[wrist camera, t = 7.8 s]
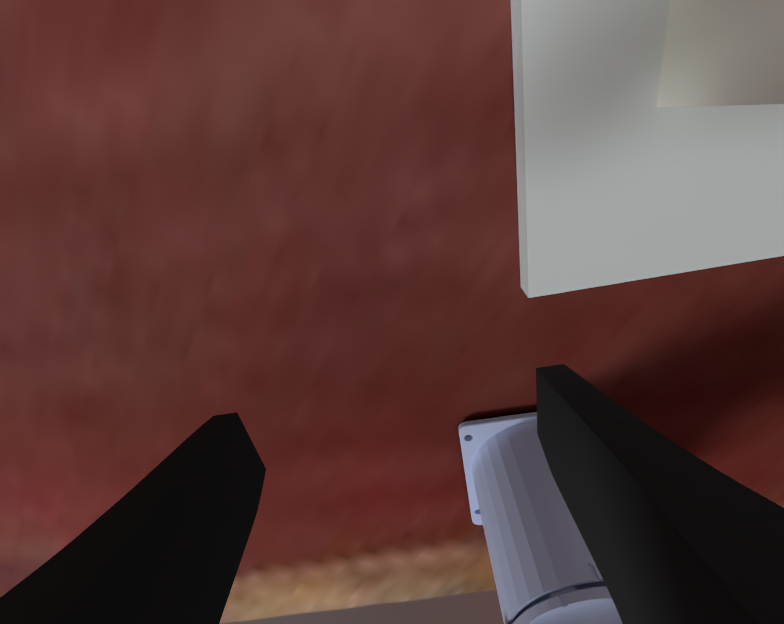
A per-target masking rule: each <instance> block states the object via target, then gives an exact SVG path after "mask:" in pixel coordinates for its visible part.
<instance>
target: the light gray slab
mask: <svg viewBox="0 0 784 624" xmlns="http://www.w3.org/2000/svg"><path fill="white" fill-rule="evenodd" d="M669 4H670V0H511V24H512V52H513V81H514V109H515V137H516V166H517V194H518V223H519V251H520V280H521V288H522V290H523V291H524V292H525V294H526V295H527V296H528V298H531V297H537V296H544V295H550V294H556V293H562V292H568V291H574V290H580V289H586V288H592V287H598V286H604V285H610V284H616V283H622V282H628V281H634V280H640V279H646V278H652V277H658V276H664V275H670V274H676V273H682V272H688V271H694V270H700V269H706V268H713V267H719V266H725V265H731V264H737V263H743V262H749V261H755V260H761V259H767V258H773V257H779V256H784V104H767V105H731V106H696V107H660V108H657V101H658V93H659V85H660V77H661V69H662V61H663V53H664V45H665V37H666V28H667V20H668V12H669Z"/></svg>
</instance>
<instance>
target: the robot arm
mask: <svg viewBox="0 0 784 624" xmlns="http://www.w3.org/2000/svg"><path fill="white" fill-rule="evenodd" d="M536 388H537V412H532V413H525V414H517V415H510V416H503V417H495V418H488V419H481V420H473V421H466V422H463V423H461V424H460V425H459V428H458V430H459V436H460V443H461V450H462V456H463V463H464V470H465V477H466V483H467V490H468V497H469V503H470V510H471V517H472V521H473V523H474V524H477V525H483V527H484V532H485V537H486V541H487V546H488V551H489V555H490V560H491V565H492V569H493V574H494V579H495V583H496V588H497V593H498V597H499V602H500V607H501V611H502V616H503V620H504V624H784V508H783V507H781V506H779V505H777V504H776V503H774V502H772V501H770V500H769V499H767V498H765V497H763V496H761V495H760V494H758V493H756V492H754V491H752V490H751V489H749V488H747V487H745V486H744V485H742V484H740V483H738V482H737V481H735V480H733V479H732V478H730V477H728V476H727V475H725V474H723V473H722V472H720V471H718V470H717V469H715V468H713V467H712V466H710V465H709V464H707V463H705V462H704V461H702V460H701V459H699V458H697V457H696V456H694V455H693V454H691V453H689V452H688V451H686V450H685V449H683V448H682V447H680V446H678V445H677V444H675V443H674V442H672V441H671V440H669V439H668V438H666V437H665V436H663V435H662V434H660V433H659V432H657V431H656V430H654V429H653V428H651V427H650V426H649V425H647V424H646V423H644V422H643V421H641V420H640V419H638V418H637V417H636V416H634V415H633V414H631V413H630V412H628V411H627V410H626V409H624V408H623V407H621V406H620V405H619V404H617V403H616V402H614V401H613V400H612V399H610V398H609V397H608V396H606V395H605V394H604V393H602V392H601V391H599V390H598V389H597V388H595V387H594V386H593V385H591V384H590V383H589V382H587V381H586V380H585V379H583V378H582V377H581V376H579V375H578V374H577V373H575V372H574V371H573V370H571V369H570V368H568V367H567V366H566V365H564V364H561V365H554V366H548V367H541V368H536ZM467 435H470V436H467ZM265 471H266V468H265V466H264V464H263V462H262V460H261V459H260V457H259V455H258V453H257V451H256V449H255V447H254V445H253V443H252V441H251V439H250V437H249V435H248V433H247V431H246V429H245V427H244V425H243V423H242V421H241V419H240V417H239V415H238V413H230V414H223V415H216V416H213V417H212V418H211V419H209V420H208V421H207V422H206V423H204V424H203V425H202V426H201V427H200V428H199V429H197V430H196V431H195V432H194V433H193V434H192V435H191V436H190V437H188V438H187V439H186V440H185V441H184V442H183V443H182V444H181V445H180V446H179V447H177V448H176V449H175V450H174V451H173V452H172V453H171V454H170V455H169V456H168V457H167V458H166V459H164V460H163V461H162V462H161V463H160V464H159V465H158V466H157V467H156V468H155V469H153V470H152V471H151V472H150V473H149V474H148V475H147V476H146V477H145V478H144V479H143V480H141V481H140V482H139V483H138V484H137V485H136V486H135V487H134V488H133V489H132V490H130V491H129V492H128V493H127V494H126V495H125V496H124V497H123V498H121V499H120V500H119V501H118V502H117V503H116V504H114V505H113V506H112V507H111V508H110V509H109V510H108V511H106V512H105V513H104V514H103V515H102V516H101V517H99V518H98V519H97V520H96V521H95V522H94V523H93V524H91V525H90V526H89V527H88V528H87V529H86V530H84V531H83V532H82V533H81V534H80V535H79V536H78V537H76V538H75V539H74V540H73V541H72V542H70V543H69V544H68V545H67V546H65V547H64V548H63V549H62V550H61V551H59V552H58V553H57V554H56V555H54V556H53V557H52V558H51V559H49V560H48V561H47V562H46V563H44V564H43V565H42V566H41V567H39V568H38V569H37V570H36V571H34V572H33V573H32V574H30V575H29V576H28V577H26V578H25V579H24V580H23V581H21V582H20V583H19V584H17V585H16V586H15V587H14V588H12V589H11V590H10V591H8V592H7V593H6V594H4V595H3V596H2V597H0V624H219V622H220V619H221V616H222V613H223V610H224V607H225V605H226V602H227V599H228V596H229V593H230V590H231V587H232V584H233V581H234V578H235V576H236V573H237V570H238V567H239V564H240V561H241V558H242V555H243V552H244V550H245V547H246V544H247V541H248V538H249V535H250V532H251V529H252V526H253V523H254V520H255V517H256V513H257V510H258V505H259V501H260V497H261V492H262V487H263V482H264V477H265Z"/></svg>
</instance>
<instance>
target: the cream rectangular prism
mask: <svg viewBox="0 0 784 624" xmlns="http://www.w3.org/2000/svg"><path fill="white" fill-rule="evenodd" d="M767 104H784V0H670V4H669V12H668V20H667V28H666V37H665V45H664V53H663V61H662V69H661V77H660V85H659V93H658V101H657V108H660V107H696V106H731V105H767Z"/></svg>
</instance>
